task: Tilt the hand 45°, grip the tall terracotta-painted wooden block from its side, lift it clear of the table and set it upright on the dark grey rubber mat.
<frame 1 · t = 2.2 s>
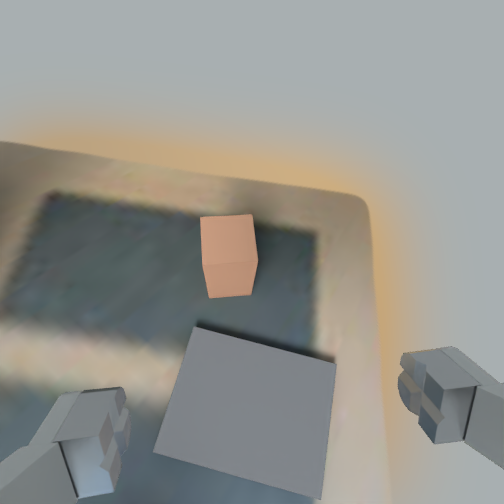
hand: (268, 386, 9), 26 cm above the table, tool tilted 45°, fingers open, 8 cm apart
mat: (250, 404, 32), on the table
block: (228, 276, 38), on the table
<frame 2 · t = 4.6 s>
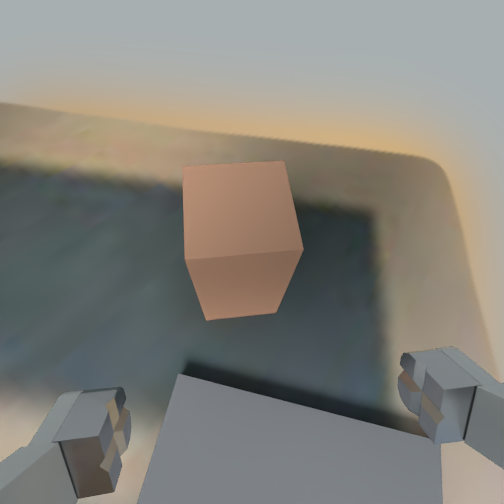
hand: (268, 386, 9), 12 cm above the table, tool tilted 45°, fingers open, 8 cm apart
block: (237, 283, 23), on the table
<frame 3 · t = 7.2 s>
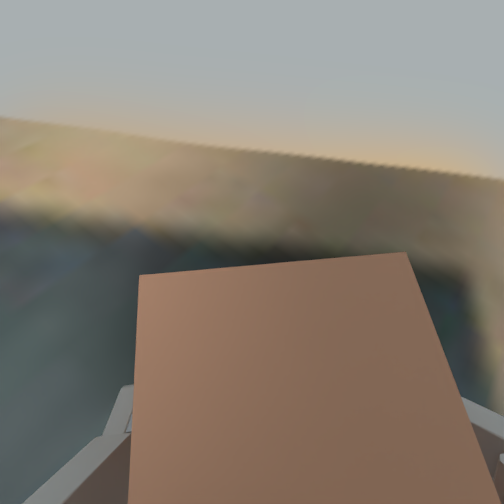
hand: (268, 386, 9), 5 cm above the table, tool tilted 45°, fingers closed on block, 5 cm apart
block: (259, 409, 14), on the table, touching gripper
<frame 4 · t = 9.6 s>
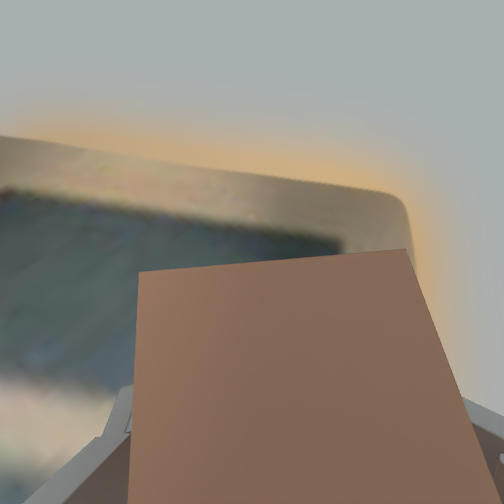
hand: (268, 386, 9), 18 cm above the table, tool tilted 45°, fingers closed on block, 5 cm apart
block: (259, 407, 14), point 12 cm above the table, touching gripper
when the fingers open (7 cm above the table, at t = 12.3 s): block stays where it is, resting on mat.
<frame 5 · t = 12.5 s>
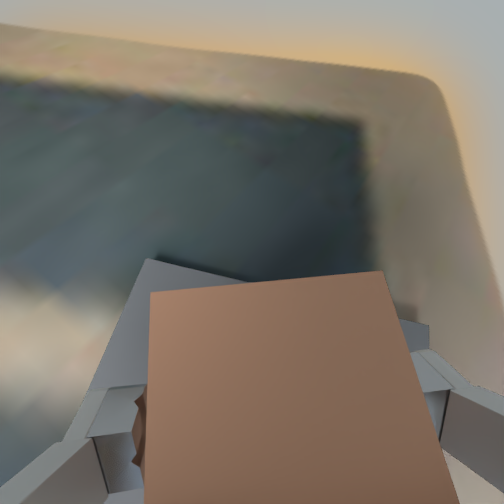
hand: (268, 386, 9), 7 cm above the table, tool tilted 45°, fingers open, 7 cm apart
mat: (257, 408, 15), on the table
block: (257, 408, 14), point 1 cm above the table, touching mat
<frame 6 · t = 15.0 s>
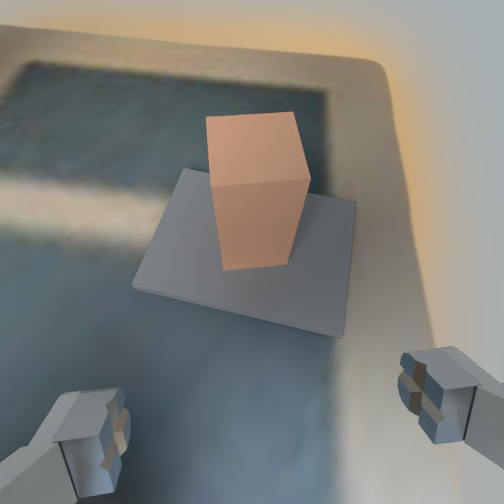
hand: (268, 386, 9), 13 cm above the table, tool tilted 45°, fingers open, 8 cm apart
mat: (252, 245, 26), on the table
block: (251, 239, 25), point 1 cm above the table, touching mat
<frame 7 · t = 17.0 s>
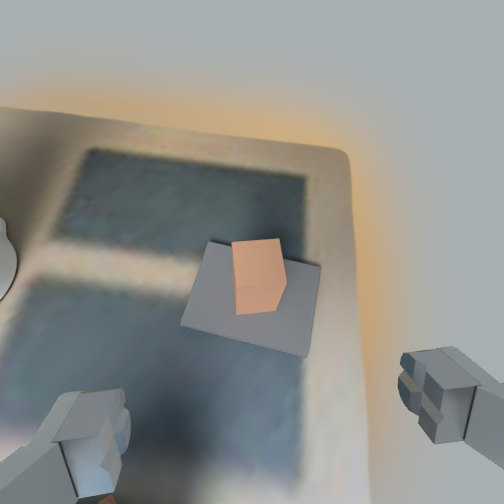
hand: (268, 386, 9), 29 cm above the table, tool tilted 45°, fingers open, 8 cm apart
mat: (253, 296, 41), on the table
block: (253, 294, 40), point 1 cm above the table, touching mat
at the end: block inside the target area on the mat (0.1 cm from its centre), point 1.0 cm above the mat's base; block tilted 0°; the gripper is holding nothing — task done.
